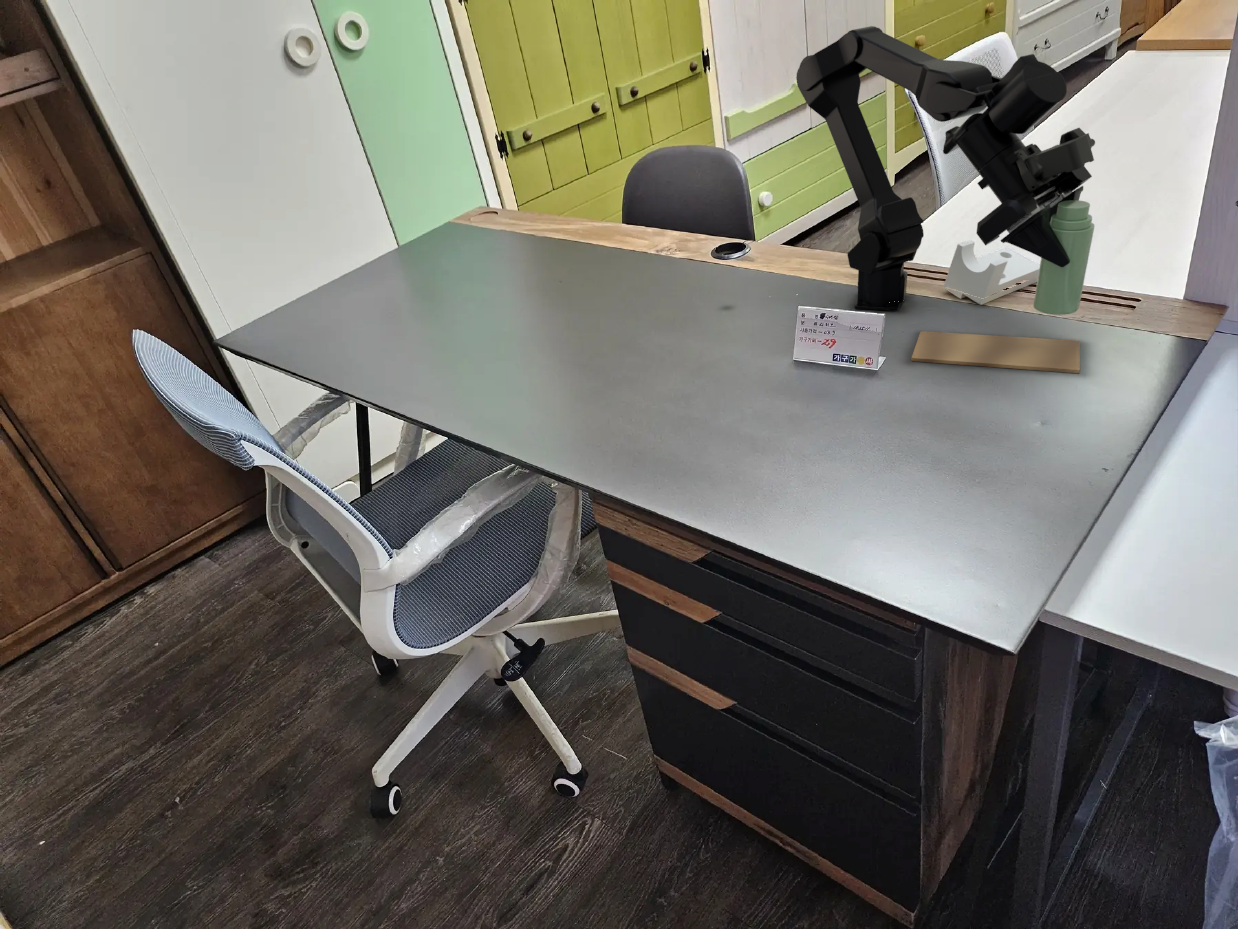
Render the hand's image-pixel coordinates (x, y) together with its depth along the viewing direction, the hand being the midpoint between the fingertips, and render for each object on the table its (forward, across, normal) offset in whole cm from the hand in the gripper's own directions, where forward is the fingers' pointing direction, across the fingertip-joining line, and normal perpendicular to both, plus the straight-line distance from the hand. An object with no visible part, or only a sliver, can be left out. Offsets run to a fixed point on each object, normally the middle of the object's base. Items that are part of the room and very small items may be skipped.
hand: (1076, 258), depth 103 cm
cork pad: (+4, -3, +14) cm, 15 cm away
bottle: (+4, 0, +6) cm, 7 cm away
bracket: (-3, +18, +22) cm, 28 cm away
